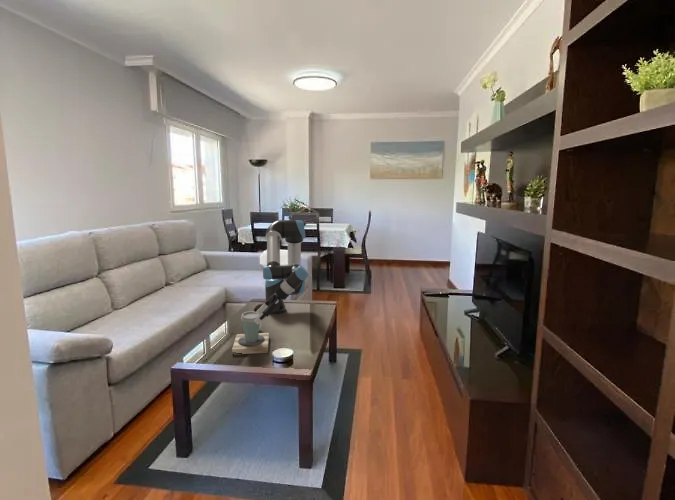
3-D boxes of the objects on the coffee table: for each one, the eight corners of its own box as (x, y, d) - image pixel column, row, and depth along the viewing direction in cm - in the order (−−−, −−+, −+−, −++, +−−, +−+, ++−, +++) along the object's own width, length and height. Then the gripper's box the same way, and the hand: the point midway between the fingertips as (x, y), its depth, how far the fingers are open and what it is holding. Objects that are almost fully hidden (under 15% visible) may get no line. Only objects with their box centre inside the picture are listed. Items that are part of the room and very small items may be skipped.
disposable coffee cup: (265, 337, 199) (264, 311, 196) (255, 345, 189) (254, 318, 186) (247, 334, 202) (246, 309, 199) (237, 343, 191) (236, 316, 188)
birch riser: (236, 339, 203) (236, 333, 203) (269, 337, 206) (268, 332, 205) (232, 354, 186) (232, 348, 185) (267, 352, 188) (267, 346, 188)
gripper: (290, 302, 180) (260, 332, 181) (289, 287, 204) (263, 313, 205) (279, 292, 178) (249, 322, 179) (280, 278, 203) (253, 305, 204)
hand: (257, 317), depth 192 cm, fingers open, 13 cm apart
